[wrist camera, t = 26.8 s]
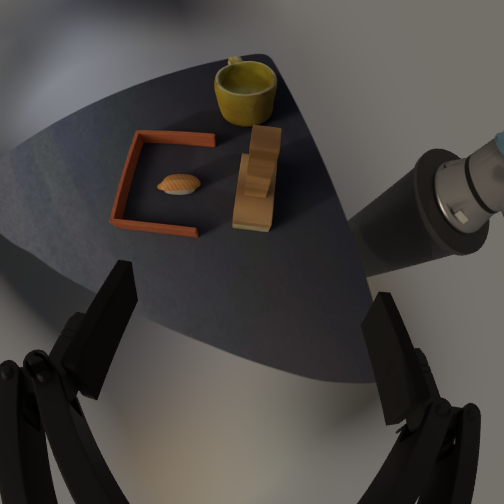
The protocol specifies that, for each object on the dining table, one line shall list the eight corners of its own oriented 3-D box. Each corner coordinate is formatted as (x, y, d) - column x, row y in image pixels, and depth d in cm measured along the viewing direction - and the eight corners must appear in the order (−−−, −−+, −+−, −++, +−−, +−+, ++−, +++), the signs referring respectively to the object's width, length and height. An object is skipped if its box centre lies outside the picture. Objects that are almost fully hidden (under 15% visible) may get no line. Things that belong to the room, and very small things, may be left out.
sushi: (201, 195, 40) (199, 186, 37) (158, 197, 40) (153, 190, 37) (201, 178, 40) (199, 169, 38) (159, 181, 40) (154, 173, 37)
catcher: (215, 144, 42) (214, 133, 39) (198, 237, 39) (195, 232, 36) (141, 139, 41) (136, 129, 38) (117, 227, 38) (109, 222, 35)
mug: (290, 127, 41) (276, 78, 32) (227, 142, 43) (203, 98, 34) (278, 85, 46) (265, 42, 36) (226, 98, 48) (206, 59, 39)
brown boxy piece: (241, 164, 41) (246, 97, 26) (274, 168, 42) (293, 103, 26) (232, 227, 39) (232, 180, 24) (268, 232, 40) (289, 187, 24)
